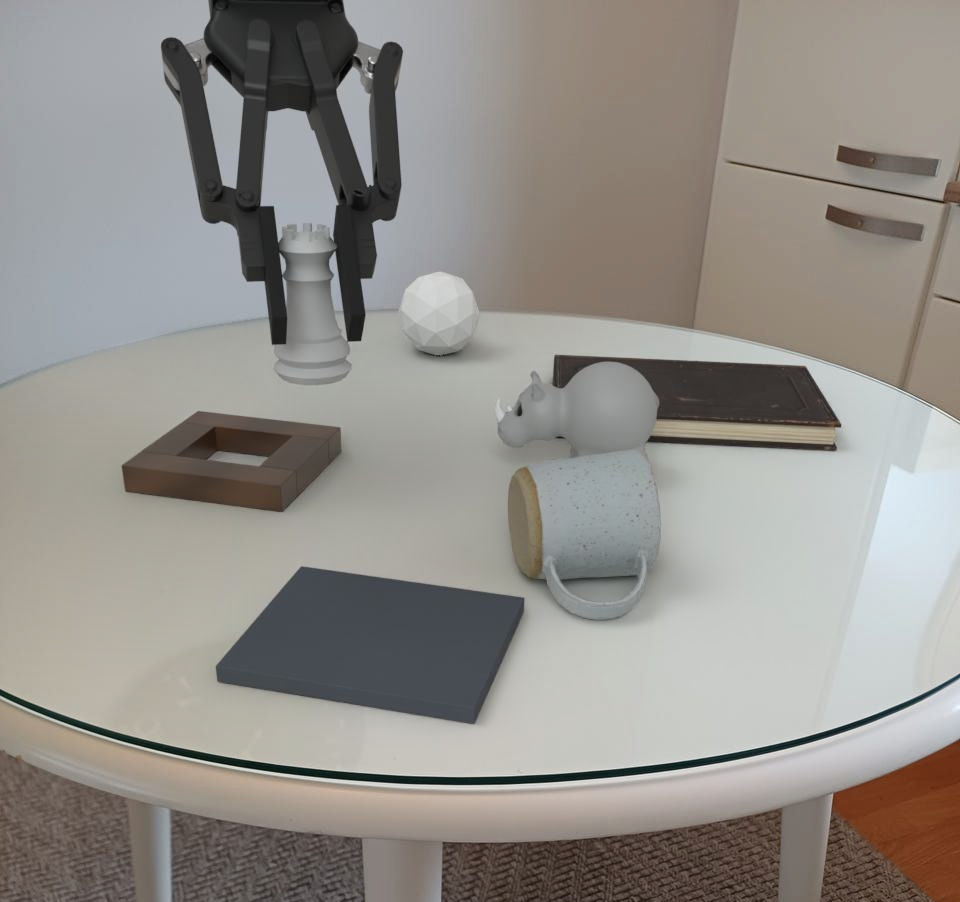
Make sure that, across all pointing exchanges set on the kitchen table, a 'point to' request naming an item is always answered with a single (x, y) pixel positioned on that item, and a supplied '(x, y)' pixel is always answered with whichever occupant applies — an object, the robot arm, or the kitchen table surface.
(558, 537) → the ceramic mug
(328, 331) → the rook chess piece
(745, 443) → the hardcover book
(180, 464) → the stand
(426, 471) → the kitchen table surface
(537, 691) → the kitchen table surface
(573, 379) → the chubby cartoon animal
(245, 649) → the mat
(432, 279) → the geometric ball
